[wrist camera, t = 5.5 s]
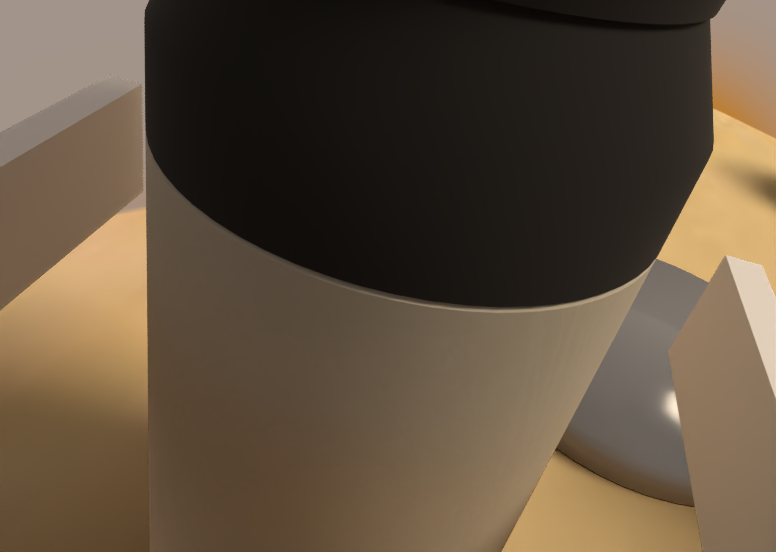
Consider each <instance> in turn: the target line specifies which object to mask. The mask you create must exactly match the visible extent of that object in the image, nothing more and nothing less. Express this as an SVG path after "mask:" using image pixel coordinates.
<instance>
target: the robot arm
mask: <svg viewBox="0 0 776 552" xmlns="http://www.w3.org/2000/svg"><path fill="white" fill-rule="evenodd" d="M142 131H143V129H142V84H140V83H136V82H133V81H129V80H126V79H123V78H119V77H116V76H112V75H109V76H107V77H105V78H103V79H101V80H100V81H97V82H96V83H94V84H92V85H90V86H88V87H86V88H84V89H82V90H80V91H78V92H77V93H75V94H73V95H71V96H69V97H67V98H65V99H63V100H61V101H59V102H58V103H56V104H54V105H52V106H50V107H48V108H46V109H44V110H42V111H40V112H39V113H37V114H35V115H33V116H31V117H29V118H27V119H25V120H23V121H21V122H20V123H18V124H16V125H14V126H12V127H10V128H8V129H6V130H4V131H2V132H1V133H0V310H1V309H2V308H4V307H5V306H6V305H7V304H8V303H10V302H11V301H12V300H13V299H14V298H16V297H17V296H18V295H19V294H20V293H22V292H23V291H24V290H25V289H26V288H28V287H29V286H30V285H31V284H32V283H34V282H35V281H36V280H37V279H38V278H40V277H41V276H42V275H43V274H44V273H46V272H47V271H48V270H49V269H50V268H52V267H53V266H54V265H55V264H56V263H58V262H59V261H60V260H61V259H62V258H64V257H65V256H66V255H67V254H68V253H70V252H71V251H72V250H73V249H74V248H76V247H77V246H78V245H79V244H80V243H82V242H83V241H84V240H85V239H86V238H88V237H89V236H90V235H91V234H92V233H94V232H95V231H96V230H97V229H98V228H100V227H101V226H102V225H103V224H104V223H106V222H107V221H108V220H109V219H110V218H112V217H113V216H114V215H115V214H116V213H118V212H119V211H120V210H121V209H122V208H123V207H125V206H126V205H127V204H128V203H129V202H131V201H132V200H133V199H134V198H136V197H137V196H138V195H139V194H140V193H142V192H143V138H142V137H143V132H142ZM668 355H669V360H670V366H671V372H672V378H673V383H674V389H675V395H676V401H677V407H678V412H679V418H680V424H681V430H682V435H683V441H684V447H685V453H686V459H687V464H688V470H689V476H690V482H691V487H692V493H693V499H694V505H695V511H696V516H697V522H698V528H699V534H700V539H701V545H702V551H703V552H776V297H775V295H774V292H773V290H772V287H771V285H770V283H769V280H768V278H767V276H766V273H765V271H764V269H763V266H762V265H759V264H756V263H752V262H749V261H745V260H742V259H738V258H735V257H732V256H728V255H725V257H724V258H723V260H722V262H721V263H720V265H719V267H718V268H717V270H716V272H715V273H714V275H713V277H712V278H711V280H710V282H709V283H708V285H707V287H706V288H705V290H704V292H703V293H702V295H701V297H700V298H699V300H698V302H697V303H696V305H695V307H694V308H693V310H692V312H691V313H690V315H689V317H688V318H687V320H686V322H685V323H684V325H683V327H682V328H681V330H680V332H679V333H678V335H677V337H676V338H675V340H674V342H673V343H672V345H671V347H670V348H669V350H668Z"/></svg>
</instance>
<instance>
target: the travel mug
mask: <svg viewBox="0 0 776 552" xmlns="http://www.w3.org/2000/svg"><path fill="white" fill-rule="evenodd" d="M725 1H726V0H149V2H148V4H147V7H146V9H145V118H146V119H145V122H146V225H147V328H148V430H149V533H150V552H501V551H502V549H503V547H504V545H505V544H506V542H507V540H508V538H509V536H510V534H511V532H512V530H513V528H514V527H515V525H516V523H517V521H518V519H519V517H520V515H521V513H522V511H523V510H524V508H525V506H526V504H527V502H528V500H529V498H530V496H531V494H532V493H533V491H534V489H535V487H536V485H537V483H538V481H539V479H540V477H541V476H542V474H543V472H544V470H545V468H546V466H547V464H548V462H549V460H550V459H551V457H552V455H553V453H554V451H555V449H556V447H557V445H558V443H559V441H560V440H561V438H562V436H563V434H564V432H565V430H566V428H567V426H568V424H569V423H570V421H571V419H572V417H573V415H574V413H575V411H576V409H577V407H578V406H579V404H580V402H581V400H582V398H583V396H584V394H585V392H586V390H587V389H588V387H589V385H590V383H591V381H592V379H593V377H594V375H595V373H596V372H597V370H598V368H599V366H600V364H601V362H602V360H603V358H604V356H605V355H606V353H607V351H608V349H609V347H610V345H611V343H612V341H613V339H614V338H615V336H616V334H617V332H618V330H619V328H620V326H621V324H622V322H623V321H624V319H625V317H626V315H627V313H628V311H629V309H630V307H631V305H632V303H633V302H634V300H635V298H636V296H637V294H638V292H639V290H640V288H641V286H642V285H643V283H644V281H645V279H646V277H647V275H648V273H649V271H650V269H651V268H652V266H653V264H654V262H655V260H656V258H657V256H658V254H659V252H660V251H661V249H662V247H663V245H664V243H665V241H666V239H667V237H668V235H669V234H670V232H671V230H672V228H673V226H674V224H675V222H676V220H677V218H678V217H679V215H680V213H681V211H682V209H683V207H684V205H685V203H686V201H687V200H688V198H689V196H690V194H691V192H692V190H693V188H694V186H695V184H696V182H697V181H698V179H699V177H700V175H701V173H702V171H703V169H704V167H705V165H706V164H707V162H708V160H709V158H710V155H711V153H712V151H713V143H714V134H713V102H712V70H711V35H710V19H711V18H713V17H714V16H715V15H716V14H717V13H718V11H719V10H720V8H721V7H722V5H723V4H724V2H725Z"/></svg>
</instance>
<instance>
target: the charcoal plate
mask: <svg viewBox="0 0 776 552" xmlns="http://www.w3.org/2000/svg"><path fill="white" fill-rule="evenodd" d="M707 285H708V282H706V281H704V280H702V279H700V278H698V277H696V276H695V275H693V274H691V273H688V272H686V271H684V270H682V269H680V268H677V267H675V266H673V265H670V264H668V263H665V262H663V261H660V260H658V259H656V260H655V262H654V264H653V266H652V268H651V269H650V271H649V273H648V275H647V277H646V279H645V281H644V283H643V285H642V286H641V288H640V290H639V292H638V294H637V296H636V298H635V300H634V302H633V303H632V305H631V307H630V309H629V311H628V313H627V315H626V317H625V319H624V321H623V322H622V324H621V326H620V328H619V330H618V332H617V334H616V336H615V338H614V339H613V341H612V343H611V345H610V347H609V349H608V351H607V353H606V355H605V356H604V358H603V360H602V362H601V364H600V366H599V368H598V370H597V372H596V373H595V375H594V377H593V379H592V381H591V383H590V385H589V387H588V389H587V390H586V392H585V394H584V396H583V398H582V400H581V402H580V404H579V406H578V407H577V409H576V411H575V413H574V415H573V417H572V419H571V421H570V423H569V424H568V426H567V428H566V430H565V432H564V434H563V436H562V438H561V440H560V441H559V443H558V445H557V447H556V448H557V449H558V450H560V451H561V452H563V453H564V454H565V455H567V456H568V457H570V458H571V459H573V460H574V461H576V462H578V463H579V464H581V465H583V466H584V467H586V468H588V469H589V470H591V471H593V472H595V473H596V474H598V475H600V476H602V477H604V478H607V479H609V480H611V481H613V482H615V483H617V484H619V485H621V486H623V487H626V488H629V489H631V490H634V491H637V492H639V493H642V494H645V495H647V496H650V497H654V498H658V499H661V500H665V501H669V502H672V503H677V504H683V505H689V506H695V505H694V499H693V493H692V487H691V482H690V476H689V470H688V464H687V459H686V453H685V447H684V441H683V435H682V430H681V424H680V418H679V412H678V407H677V401H676V395H675V389H674V383H673V378H672V372H671V366H670V360H669V355H668V350H669V348H670V347H671V345H672V343H673V342H674V340H675V338H676V337H677V335H678V333H679V332H680V330H681V328H682V327H683V325H684V323H685V322H686V320H687V318H688V317H689V315H690V313H691V312H692V310H693V308H694V307H695V305H696V303H697V302H698V300H699V298H700V297H701V295H702V293H703V292H704V290H705V288H706V287H707Z"/></svg>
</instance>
